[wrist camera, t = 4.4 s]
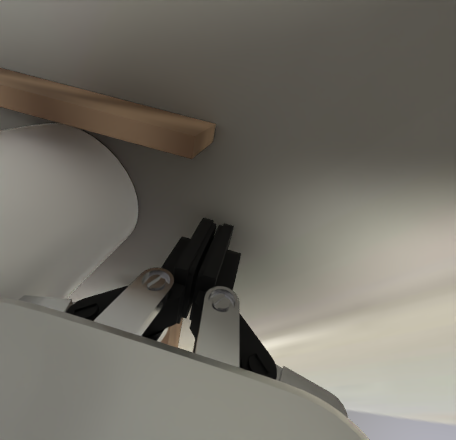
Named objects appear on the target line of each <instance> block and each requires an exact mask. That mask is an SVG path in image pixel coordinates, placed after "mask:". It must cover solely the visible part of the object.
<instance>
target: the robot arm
mask: <svg viewBox="0 0 456 440" xmlns="http://www.w3.org/2000/svg"><path fill="white" fill-rule="evenodd" d="M233 227H234V226H232V225H228V224H225V223H224V224H223V226H222V225H219V227H218V229H217V231H216V234H215V229H216V224H215V223H213V220H211V219H207V218H203V219H202V221H201V222H200V224H199V226H198V227H197V229H196V231H195V232H194V234H193V236H192V238H191V239H189V238H186V237H181V238H180V240H179V241H178V243H177V244H176V246H175V247H174V249H173V251H172V252H171V254H170V255H169V257H168V258H167V260H166V261H165V263H164V264H163V266H162V267H161V268H150V269H148V270H145V271H144V272H143V273H141V274H140V275H139V276H138V277H137V278H136V279H135V280H134V281H133V282H132V283H131V284H130V285H129V286H125V287H122V288H118V289H115V290H112V291H108V292H105V293H101V294H98V295H95V296H91V297H88V298H84V299H82V300H79V301H77V302H72V299H61V298H50V297H38V296H27V295H24V296H23V297H21V298H20V299H19V300H16V299H9V298H0V440H369V438H368V437H367V436H366V435H365V434H364V433H363V432H362V431H361V430H360V429H359V428H358V427H357V426H356V425H355V424H354V423H353V422H352V421H351V420H350V419H348V416H347V412H346V410H345V408H344V406H343V404H342V403H341V402H340V400H339V399H338V398H337V397H336V396H334V395H333V394H332V393H330V392H329V391H327V390H325V389H323V388H322V387H320V386H318V385H316V384H315V383H313V382H311V381H309V380H308V379H306V378H304V377H302V376H301V375H299V374H297V373H295V372H294V371H292V370H290V369H288V368H287V367H285V366H283V368H281V367H279V366H278V365H276V364H275V362H274V360H273V359H272V357H271V355H270V354H269V353H268V351H267V350H266V349H265V347H264V346H263V345H262V343H261V342H260V340H259V339H258V338H257V336H256V335H255V334H254V332H253V331H252V330H251V328H250V327H249V325H248V324H247V323H246V321H245V320H244V319H243V317H242V316H241V314H240V313H239V298H238V296H237V295H236V293H235V292H234V291H233V287H234V282H235V278H236V274H237V269H238V265H239V261H240V256H241V253H238V252H234V251H231V250H228V247H229V243H230V239H231V235H232V231H233ZM214 234H215V236H214ZM191 306H192V308H191ZM190 308H191V313H190V320H191V325H190V329H191V331H192V333H193V335H194V337H195V342H194V348H193V352H189V351H186V350H183V349H180V348H177V347H174V346H171V345H167V344H164V343H161V341H162V339H163V338H164V336H165V335H166V333H167V331H168V327H171V326H173V325H175V324H176V323H177V324H180V322H181V319H182V317H183V318H187V316H188V313H189V311H190Z"/></svg>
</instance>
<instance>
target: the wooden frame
mask: <svg viewBox="0 0 456 440" xmlns="http://www.w3.org/2000/svg"><path fill="white" fill-rule="evenodd" d="M0 107H3V108H6V109H10V110H14V111H17V112H21V113H25V114H28V115H32V116H36V117H39V118H43V119H47V120H50V121H54V122H58V123H61V124H65V125H69V126H72V127H76V128H80V129H83V130H87V131H91V132H94V133H98V134H102V135H105V136H109V137H113V138H116V139H120V140H124V141H128V142H131V143H135V144H139V145H142V146H146V147H150V148H153V149H157V150H161V151H164V152H168V153H172V154H175V155H179V156H183V157H186V158H190V159H193V158H194V157H195V156H196V155H197V154H199V153H200V152H201V151H202V150H204V149H205V148H206V147H207V146H208V145H210V144H211V143H212V142H213V138H214V132H215V126H216V124H214V123H210V122H206V121H202V120H198V119H195V118H191V117H187V116H183V115H179V114H175V113H172V112H168V111H164V110H160V109H156V108H152V107H149V106H145V105H141V104H137V103H133V102H130V101H126V100H122V99H118V98H114V97H110V96H107V95H103V94H99V93H95V92H91V91H87V90H84V89H80V88H76V87H72V86H68V85H64V84H61V83H57V82H53V81H49V80H45V79H41V78H38V77H34V76H30V75H26V74H22V73H18V72H15V71H11V70H7V69H3V68H0ZM182 319H183V317H182ZM182 319H181V322H180V324H177V323H176V324H175V325H173V326H171V327H168V331H167V333H166V335H165V336H164V338H163V339H162V341H161V343H164V344H167V345H171V346H174V347H177V348H178V343H179V337H180V331H181V325H182Z"/></svg>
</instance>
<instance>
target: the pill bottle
mask: <svg viewBox="0 0 456 440" xmlns="http://www.w3.org/2000/svg"><path fill="white" fill-rule="evenodd" d="M138 211H139V210H138V200H137V196H136V192H135V189H134V186H133V184H132V182H131V180H130V178H129V176H128V173H127V172H126V170H125V169H124V167H123V166H122V165H121V163H120V162H119V160H118V159H117V158H116V157H115V156H114V155H113V154H112V153H111V152H110V150H109V149H108V148H107V147H105V146H104V145H103V144H102V143H100V142H99V141H98V140H97V139H95V138H94V137H92V136H91V135H89V134H87V133H85V132H84V131H82V130H80V129H77V128H74V127H72V126H69V125H65V124H59V123H45V124H36V125H30V126H24V127H17V128H11V129H5V130H0V298H9V299H16V300H19V299H20V298H21V297H23V296H24V295H27V296H38V297H50V298H61V299H66V298H67V297H68V296H69V295H70V294H71V293H72V292H73V291H74V290H75V289H76V288H77V287H78V286H79V285H80V284H81V283H82V282H83V281H84V280H85V279H86V278H87V277H88V276H90V275H91V274H92V273H93V272H94V271H95V270H96V269H97V268H98V267H99V266H100V265H101V264H102V263H103V262H104V261H105V260H106V259H107V258H108V257H109V256H110V255H111V254H112V253H113V252H114V251H115V250H116V249H117V248H118V247H119V246H120V245H121V244H122V243H123V242H124V241H125V240H126V239H127V238H128V237H129V236H130V234H131V233H132V231H133V230H134V228H135V226H136V223H137V220H138Z"/></svg>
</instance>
